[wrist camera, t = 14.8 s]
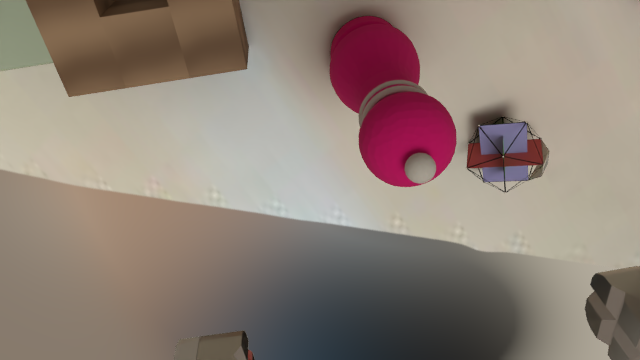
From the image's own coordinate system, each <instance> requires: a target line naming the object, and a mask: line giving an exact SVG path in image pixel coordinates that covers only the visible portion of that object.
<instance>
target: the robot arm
mask: <svg viewBox="0 0 640 360" xmlns="http://www.w3.org/2000/svg"><path fill="white" fill-rule="evenodd" d="M590 285H591V287H592V288H593V289H594V292H593V293H592V294H591V295H590V296H589V297H588V298H587V300H586V306H585V311H586V317H587V321H588V323H589V326H590V328H591V330H592V331H593V333H594V335H595V336H596V338H598V339H599V340H601V341H602V342H604V343H606V344H608V345H609V349H608V356H609V357H610V359H611V360H640V266H639V267H638V266H634V267H629V268H623V269H617V270H612V271H606V272H600V273H596V274H595V275H594V276H593V277H592V280H591V284H590ZM174 360H255V359H254V356H253V353H252V352H251V351H250V350H248V338H247V335H246V332H245V331H237V332H230V333H222V334H214V335H207V336H200V337H194V338H187V339H180V340H179V342H178V344H177V346H176V350H175V355H174Z"/></svg>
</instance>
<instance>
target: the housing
mask: <svg viewBox="0 0 640 360" xmlns="http://www.w3.org/2000/svg"><path fill="white" fill-rule="evenodd" d="M26 3H27V5H28V7H29V9H30V11H31V14H32V16H33V18H34V20H35V23H36V25H37V27H38V29H39V31H40V34H41V36H42V38H43V40H44V43H45V45H46V47H47V49H48V51H49V54H50V56H51V58H52V60H53V63H54V65H55V67H56V69H57V72H58V74H59V76H60V78H61V80H62V83H63V85H64V87H65V89H66V92H67V94H68V96H69V97H72V96H79V95H85V94H91V93H98V92H104V91H110V90H117V89H123V88H129V87H136V86H142V85H148V84H155V83H161V82H167V81H174V80H180V79H187V78H193V77H199V76H206V75H212V74H218V73H225V72H231V71H237V70H244V69H247V63H248V49H249V46H248V42H247V37H246V32H245V28H244V23H243V18H242V14H241V9H240V4H239V0H26Z"/></svg>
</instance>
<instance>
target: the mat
mask: <svg viewBox="0 0 640 360" xmlns="http://www.w3.org/2000/svg"><path fill="white" fill-rule="evenodd" d="M49 63H53V60H52V58H51V56H50V54H49V51H48V49H47V47H46V45H45V43H44V40H43V38H42V36H41V34H40V31H39V29H38V27H37V25H36V23H35V20H34V18H33V16H32V14H31V11H30V9H29V7H28V5H27V3H26V0H0V71H5V70H11V69H17V68H24V67H30V66H36V65H43V64H49Z"/></svg>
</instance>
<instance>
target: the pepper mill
mask: <svg viewBox="0 0 640 360" xmlns="http://www.w3.org/2000/svg"><path fill="white" fill-rule="evenodd" d="M330 55H331V62H330V79H331V83H332V86H333V88H334V90H335V92H336V94H337V95H338V97H339V98H340V100H341V101H342V102H343V103H344V104H345V105H346V106H348V107H349V108H350V109H352V110H353V111H354V112H356V113H358V114H359V124H360V132H359V148H360V152H361V155H362V158H363V160H364V162H365V164H366V165H367V167H368V168H369V170H370V171H371V172H372V173H373V174H374V175H375V176H376V177H377V178H379V179H381V180H382V181H384V182H385V183H388V184H391V185H393V186H400V187H412V186H418V185H421V184H424V183H427V182H429V181H431V180H433V179H434V178H436V177H437V176H438V175H440V174H441V173H442V172H443V171H444V170H445V168H446V167H447V166H448V164H449V163H450V162H451V159H452V157H453V155H454V152H455V147H456V129H455V125H454V123H453V120H452V117H451V116H450V114H449V112H448V111H447V110H446V108H445V107H444V106H443V105H442V104H441V103H440V102H439V101H437V100H436V99H434V98H433V97H431V96H429V95H427V93H426V92H425V90H424V89H423V88H422V87H420V86H419V85H418V83H419V77H420V64H419V59H418V55H417V52H416V50H415V48H414V46H413V44H412V42H411V41H410V39H409V38H408V37H407V36H406V35H405V34H404V33H402V32H401V31H400V30H398V29H396V28H394V27H393V26H392V25H391V24H390V23H388V22H387V21H385V20H384V19H381V18H379V17H373V16H362V17H358V18H355V19H353V20H351V21H349V22H348V23H346V24H345V25H344V26H343V27H342V28H341V29H340V30H339V31H338V32H337V34H336V35H335V37H334V39H333V42H332V45H331V53H330Z"/></svg>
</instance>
